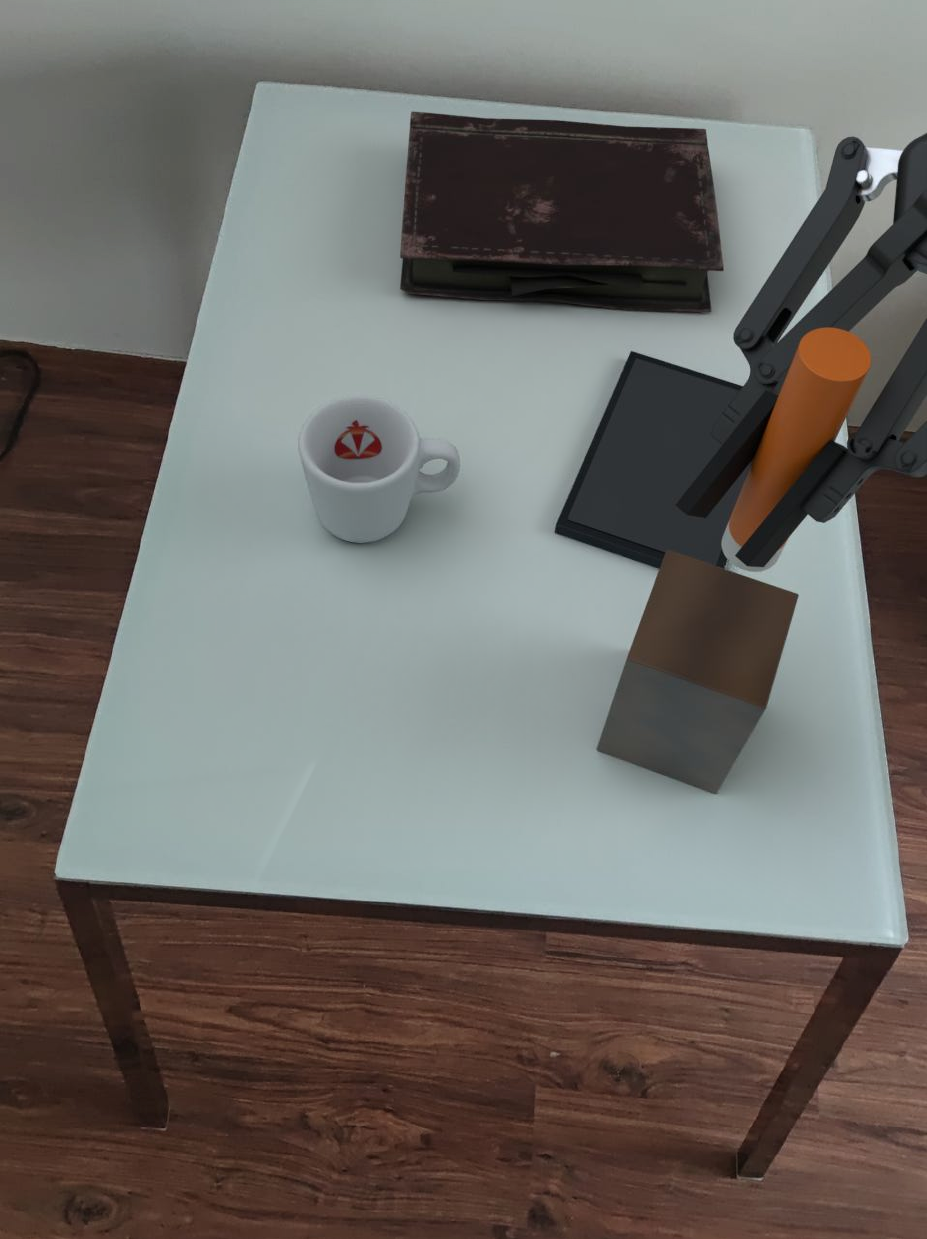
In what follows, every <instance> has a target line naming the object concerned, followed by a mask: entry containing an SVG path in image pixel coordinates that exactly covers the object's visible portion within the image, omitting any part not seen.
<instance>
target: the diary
mask: <svg viewBox="0 0 927 1239" xmlns="http://www.w3.org/2000/svg"><path fill="white" fill-rule="evenodd" d="M408 133H409V134H408V144H407V146H408V147H407V157H406V158H407V159H406V168H405V170H406V171H405V183H404V184H405V185H404V195H403V196H404V197H403V209H402V211H403V212H402V221H401V222H402V225H401V237H400V238H401V239H400V251H399V252H400V254H399V258H400V259H402V262H401V273H400V274H401V275H400V276H401V277H400V286H399V289H400V290H401V291H403V292H406V293H409V294H412V295H422V296H431V297H432V296H433V297H444V298H445V297H446V298H454V299H455V298H458V299H465V300H466V299H468V300H479V301H480V300H481V301H522V302H523V301H525V302H526V301H529V302H556V303H557V302H558V303H563V304H570V305H572V304H573V305H581V306H587V307H588V306H589V307H596V308H605V309H613V310H621V311H638V312H639V311H642V312H643V311H644V312H645V311H646V312H697V313H698V312H699V313H700V312H701V313H711V312H712V306H711V304H712V303H711V297H710V296H711V294H710V284H709V276H708V271H710V272H724V271H725V270H724V260H723V252H722V244H721V243H722V242H721V234H720V225H719V216H718V208H717V199H716V191H715V185H714V178H713V170H712V165H711V158H710V150H709V145H708V144H709V143H708V133H707V129H706V128H695V127H664V126H662V127H659V126H631V125H630V126H629V125H628V126H627V125H616V124H605V123H603V124H602V123H593V122H582V121H569V120H559V119H533V118H530V119H529V118H495V117H493V118H491V117H489V118H488V117H478V116H477V117H476V116H466V115H457V114H448V113H447V114H446V113H435V112H425V111H411V112H410V121H409V132H408Z"/></svg>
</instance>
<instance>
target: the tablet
mask: <svg viewBox="0 0 927 1239" xmlns="http://www.w3.org/2000/svg"><path fill="white" fill-rule="evenodd" d="M743 386H744V385H741V384H737V383H734V382H731V381H728V380H725V379H721V378H718V377H716V376H712V375H709V374H706V373H703V372H700V371H696V370H694V369H690V368H687V367H684V366H680V365H678V364H675V363H671V362H668V361H665V360H661V359H659V358H655V357H653V356H649V355H646V354H643V353H640V352H637V351H633V350H630V351H629V354H628V356H627V359H626V361H625V364H624V366H623V368H622V371H621V373H620V375H619V377H618V380H617V382H616V385H615V387H614V389H613V392H612V393H611V396H610V398H609V401H608V403H607V405H606V408H605V410H604V412H603V415H602V416H601V419H600V422H599V424H598V426H597V429H596V431H595V433H594V435H593V438H592V440H591V442H590V444H589V447H588V449H587V451H586V454H585V456H584V459H583V461H582V463H581V465H580V467H579V470H578V472H577V475H576V476H575V479H574V482H573V484H572V485H571V489H570V491H569V493H568V495H567V498H566V500H565V503H564V504H563V507H562V509H561V511H560V514H559V517H558V519H557V520H556V523H555V527H554V533H555V534H557V535H561V536H563V537H566V538H569V539H572V540H575V541H577V542H581V543H583V544H585V545H586V544H587V545H590V546H592V547H596V548H598V549H601V550H604V551H606V552H610V553H613V554H616V555H619V556H622V557H624V558H628V559H630V560H633V561H635V562H639V563H641V564H645V565H648V566H651V567H654V568H656V569H658V570H659V569H660V566H661V563H662V561H663V558H664V555H665V553H666V550H670V551H673V552H676V553H679V554H682V555H685V556H688V557H691V558H694V559H697V560H700V561H703V562H705V563H708V564H711V565H714V566H717V567H720V568H723V569H726V564H727V561H728V559H727V558H726V556H725V555H724V553H723V550H722V544H721V543H722V537H723V535H724V532H725V530H726V527H727V525H728V522H729V520H730V517H731V515H732V512H733V510H734V507H735V505H736V502H737V500H738V497H739V494H740V492H741V489H742V487H743V484H744V482H745V479H746V477H747V474H748V472H749V469H750V467H751V464H752V462H753V460H752V461H751V462H750V464H749V465H748V466H747V467H746V469H745V470H744V471H743V472H742V474H741V475H740V476H739V477H738V479H737V480H736V481H735V482H734V484H733V485H732V486H731V487H730V489H729V490H728V491H727V492H726V494H725V495H724V496H723V497H722V499H721V500H720V501H719V502H718V504H717V505H716V506H715V507H714V509H713V510H712V511H711V512H710V514H709V515H708V516H707V517H706V518H701V517H695V516H689V515H686V514H685V513H684V512H683V511H681V510H680V509H679V508H678V507H677V506H676V503H677V502H678V501H679V500H680V498H681V497H682V496H683V495H684V493H685V492H686V491H687V489H688V488H689V487H690V486H691V484H692V483H693V482H694V481H695V479H696V478H697V477H698V475H699V474H700V473H701V472H702V470H703V469H704V468H705V467H706V465H707V464H708V463H709V462H710V460H711V459H712V458H713V456H714V455H715V454H716V453H717V451H718V450H719V449H720V448H721V446H722V445H721V444H720V443H719V442H718V441H717V440H715V439H714V438H713V437H712V436H710V434H711V431H712V428H713V425H714V423H715V422H716V420H717V419H718V418H719V417H720V415H721V414H722V413H723V411H724V410H725V409H726V408H727V407H728V405H729V404H730V402H731V401H732V400H733V399H734V397H735V396H736V395H737V393H738V392H739V391H740V390H741V388H742V387H743Z"/></svg>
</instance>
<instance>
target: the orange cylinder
mask: <svg viewBox="0 0 927 1239" xmlns="http://www.w3.org/2000/svg"><path fill="white" fill-rule="evenodd" d="M871 367H872V355H871V351H870V349H869V347H868V346H867V345H866V343H865V342H864V341H863V340H862V339H861V338H859V337H858V336H857V335H856V334H853V333H852V332H850V331H849V332H848V331H845V330H842V329H838V328H829V327H828V328H819V329H815V330H812V331H811V332H809V333H807V334H806V335H805V336H804V337H803V338H802V339H801V341H800V343H799V346H798V348H797V351H796V353H795V356H794V359H793V361H792V364H791V366H790V369H789V371H788V374H787V376H786V379H785V381H784V384H783V386H782V389H781V391H780V394H779V396H778V399H777V401H776V404H775V406H774V409H773V411H772V414H771V416H770V419H769V421H768V424H767V427H766V429H765V432H764V434H763V437H762V439H761V442H760V444H759V447H758V449H757V452H756V454H755V457H754V459H753V462H752V464H751V467H750V469H749V472H748V474H747V477H746V479H745V482H744V484H743V487H742V489H741V492H740V494H739V497H738V500H737V502H736V505H735V507H734V510H733V512H732V515H731V517H730V520H729V522H728V525H727V527H726V530H725V532H724V535H723V537H722V543H721V544H722V550H723V553H724V555H725V556H726V558H727V561H728V562H729V563H730V564H732V565H733V566H735V567H736V568H738V569H740V570H743V571H747V572H752V573H759V572H764V571H767V570H769V569H771V568H772V567H774V566H775V565H776V564H777V562H778V561H779V559H780V556H781V555H782V553H783V550H784V548H785V546H786V544H787V542H788V540H789V538H788V539H787V540H786V541H785V543H784V544H783V545H782V546H781V547H780V549H779V550H778V551H777V552H776V553H775V555H774V556H773V557H772V558H771V559H770V561H769V562H768V563H767V564H766V565H765V567H750V566H746V565H745V564H744V563H743V562H741V561H740V560H739V559H738V558H737V557H736V556H735V555H736V554H737V552H738V551H739V550H740V549H741V547H742V546H743V545H744V544H745V543H746V541H747V540H748V539H749V538H750V536H751V535H752V534H753V533H754V532H755V530H756V529H757V528H758V527H759V526H760V524H761V523H762V522H763V521H764V519H765V518H766V517H767V516H768V515H769V513H770V512H771V511H772V510H773V508H774V507H775V506H776V505H777V504H778V502H779V501H780V500H781V499H782V497H783V496H784V495H785V494H786V493H787V491H788V490H789V489H790V488H791V487H792V485H793V484H794V483H795V482H796V480H797V479H798V478H799V477H800V476H801V474H802V473H803V472H804V471H805V469H806V468H807V467H808V466H809V465H810V463H811V462H812V461H813V460H814V459H815V457H816V456H817V455H818V454H819V452H820V451H821V450H822V449H823V448H824V446H825V445H826V444H827V443H828V441H830V440H832V441H834V442H836V440H837V438H838V436H839V434H840V431H841V429H842V427H843V425H844V423H845V421H846V419H847V417H848V415H849V412H850V410H851V408H852V406H853V404H854V402H855V400H856V398H857V396H858V394H859V392H860V389H861V387H862V386H863V383H864V381H865V379H866V377H867V375H868V373H869V371H870V368H871Z"/></svg>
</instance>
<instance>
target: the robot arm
mask: <svg viewBox="0 0 927 1239" xmlns="http://www.w3.org/2000/svg"><path fill="white" fill-rule="evenodd" d="M893 181H896V182H895V183H896V185H895V197H894V208H893V220H892V225H890V226H889V227H888V228H887V229H886V231H885V232H883V233H882V234H881V235H880V236H879V237H878V239H876V240H875V241H874V242H873V243H872V244H871V246H870V247H869V248H868V251H867V253H866V255H865V256H864V257H863V258H862V259H861V260H860V261H859V262H858V263H857V264H856V265H855V266H854V267H853V268H852V269H851V270H850V271H849V272H848V273H847V274H846V275H845V276H844V277H842V278H841V280H839V282H838V283H837V284H836V285H835V286H833V288H831V289H830V291H828V292H827V293H826V295H824V296H823V297H822V299H820V300H819V301H818V302H817V303H816V304H815V305H814V306H813V307H812V308H811V309H810V310H809V311H808V312H807V313H806V314H805V315H804V316H803V317H801V319H800V320H799V321H798V322H796V324H795V325H794V326H793V327H792V328H791V329H790V330H789V331H788V332H786V330H787V329H788V327H789V326H790V324H791V322H792V321H793V319H794V318H795V316H796V315H797V313H798V312H799V310H800V308H801V307H802V306H803V304H804V303H805V301H806V300H807V298H808V297H809V295H810V294H811V292H812V290H813V289H814V287H815V286H816V284H817V283H818V281H819V280H820V278H821V277H822V275H824V272H825V271H826V269H827V267H828V266H829V264H830V263H831V262H832V260H833V258H834V257H835V255H836V254H837V252H838V251H839V250H840V248H841V247H842V244H843V243H844V242H845V240H846V239H847V237H848V235H849V234H850V232H851V231H852V230H853V228H854V226H855V224H856V223H857V221H858V219H859V218H860V216H861V214H862V211H863V209H864V207H865V204H866V202H873V201H874V200H876V199H878V198H879V197H880V196H881V194H882V193H883V191H884V189H885V187H886V186H887V185H888V184H890V183H891V182H893ZM917 272H920V273H923V274H926V275H927V132H925V133H924V134H922V135H920V136H918V137H916V138H914V139H913V140H911V141H910V142H909V143H908V144H907V145H906V146H905V147H904V149H897V148H886V147H875V146H866V145H865V143H864V142H863V140H861V139H860V138H859V137H856V136H847V137H845V138H843V139H842V140H841V141H840V142H838V144H837V145H836V148H835V150H834V155H833V159H832V162H831V166H830V170H829V172H828V177H827V181H826V184H825V189H824V190H823V191H822V193H821V195H820V196H819V198H818V199H817V201H816V202H815V204H814V206H812V209H811V210H810V212H809V213H808V215H807V216H806V218H805V220H804V221H803V223H802V224H801V226H800V227H799V229H798V231H797V232H796V234H795V235H794V236H793V238H792V240H791V241H790V243H789V244H788V246H787V248H786V249H785V251H784V253H783V254H782V256H780V258H779V260H778V262H777V263H776V264H775V266H774V268H773V269H772V271H771V273H770V274H769V276H768V277H767V279H766V280H765V282H764V283H763V285H762V287H761V288H760V290H759V292H758V293H757V295H756V296H755V297H754V300H753V301H751V304H750V305H749V307H748V308H747V310H746V312H745V313H744V315H743V316H742V318H741V319H740V321H739V323H738V324H737V326H736V327H735V329H734V332H733V336H732V337H733V338H732V339H733V342H734V344H735V345H736V346H737V347H738V348H739V349H740V351H741V353H742V354H743V356H744V358H745V359H746V361H747V363H748V365H749V366H748V367H749V375H748V379H747V380H746V381H745V383H744V384H743V385H742V386H743V387H742V388H741V390H740V391H739V392H738V393H737V395H736V396H735V397H734V399H733V400H732V401H731V402H730V404H729V405H728V407H727V408H726V409H725V410H724V411H723V413H722V414H721V415H720V417H719V418H718V419H717V420H716V422H715V423H714V425H713V428H712V431H711V434H710V436H712V437H713V438H714V439H715V440H717V441H718V442H719V443H720V444H721V445H722V446H721V448H720V449H719V450H718V451H717V453H716V454H715V455H714V456H713V458H712V459H711V460H710V462H709V463H708V464H707V465H706V467H705V468H704V469H703V470H702V472H701V473H700V474H699V475H698V477H697V478H696V479H695V481H694V482H693V483H692V484H691V486H690V487H689V488H688V489H687V491H686V492H685V493H684V495H683V496H682V497H681V498H680V500H679V501H678V502H677V503H676V506H677V507H678V508H679V509H680V510H681V511H683V512H684V513H685V514H686V515H689V516H695V517H701V518H706V517H707V516H708V515H709V514H710V512H711V511H712V510H713V509H714V507H715V506H716V505H717V504H718V502H719V501H720V500H721V499H722V497H723V496H724V495H725V494H726V492H727V491H728V490H729V489H730V487H731V486H732V485H733V484H734V482H735V481H736V480H737V479H738V477H739V476H740V475H741V474H742V472H743V471H744V470H745V469H746V467H747V466H748V465H749V464H750V462H751V461H752V460H753V459H754V457H755V454H756V452H757V449H758V447H759V444H760V442H761V439H762V437H763V434H764V432H765V429H766V427H767V424H768V421H769V419H770V416H771V414H772V411H773V409H774V406H775V404H776V401H777V399H778V396H779V394H780V391H781V389H782V386H783V384H784V381H785V379H786V376H787V374H788V371H789V369H790V366H791V364H792V361H793V359H794V356H795V353H796V351H797V348H798V346H799V343H800V341H801V339H802V338H803V337H804V336H805V335H806V334H807V333H809V332H811V331H812V330H815V329H819V328H828V327H829V328H838V329H842V330H845V331H848V332H850V331H851V330H853V329H854V328H855V327H856V326H857V325H858V324H859V323H860V322H861V321H862V320H863V319H864V318H865V317H866V316H867V315H868V314H869V313H870V312H871V311H872V310H873V309H875V307H877V306H878V305H879V304H880V303H881V302H882V301H883V300H884V299H885V298H886V297H887V296H888V295H889V294H891V292H892V291H893V290H894V289H896V288H897V287H899V286H901V285H903V284H905V283H906V282H907V281H909V279H910V278H912V276H913V275H915V273H917ZM785 332H786V333H785ZM784 333H785V335H784V336H783V334H784ZM926 398H927V317H926V319H925V320H924V321H923V323H922V325H921V326H920V329H919V330H918V331H917V333H916V334H915V336H914V338H913V340H912V341H911V343H910V344H909V346H908V348H907V349H906V351H905V353H904V354H903V356H902V358H901V359H900V361H899V362H898V364H897V366H896V367H895V369H894V371H893V372H892V374H891V376H890V377H889V379H888V381H887V382H886V384H885V385H884V387H883V389H882V390H881V392H880V394H879V395H878V397H877V399H876V401H874V403H873V405H872V407H871V408H870V410H869V412H868V413H867V414H866V416H865V418H864V420H863V421H862V423H861V425H860V426H859V428H857V429H858V430H857V431H856V433H855V434H854V436H853V437H848V439H847V440H846V446H844V445H843V444H841V443H838V442H837V441H835V442H834V441H832V440H830V441H828V443H827V444H826V445H825V446H824V448H823V449H822V450H821V451H820V452H819V454H818V455H817V456H816V457H815V459H814V460H813V461H812V462H811V463H810V465H809V466H808V467H807V468H806V469H805V471H804V472H803V473H802V474H801V476H800V477H799V478H798V479H797V480H796V482H795V483H794V484H793V485H792V487H791V488H790V489H789V490H788V491H787V493H786V494H785V495H784V496H783V497H782V499H781V500H780V501H779V502H778V504H777V505H776V506H775V507H774V508H773V510H772V511H771V512H770V513H769V515H768V516H767V517H766V518H765V519H764V521H763V522H762V523H761V524H760V526H759V527H758V528H757V529H756V530H755V532H754V533H753V534H752V535H751V536H750V538H749V539H748V540H747V541H746V543H745V544H744V545H743V546H742V547H741V549H740V550H739V551H738V552H737V554H736V555H735V556H736V557H737V558H738V559H739V560H740V561H741V562H743V563H744V564H745V565H746V566H750V567H765V565H766V564H767V563H768V562H769V561H770V559H771V558H772V557H773V556H774V555H775V553H776V552H777V551H778V550H779V549H780V547H781V546H782V545H783V544H784V543H785V541H786V540H787V539H788V540H789V538H790V537H791V536H792V535H793V533H794V532H795V531H796V530H797V528H798V527H799V526H800V524H802V522H804V520H805V519H806V517H807V516H809V517H810V518H811V519H813V520H814V521H815V522H817V523H822V524H825V523H827V522H829V521H831V520H832V519H834V518H836V516H837V515H838V514H839V513H840V512H841V510H842V509H843V508H844V507H845V506H846V505H847V503H848V502H849V501H850V500H851V499H852V498H853V496H855V494H856V493H857V492H858V490H859V489H861V487H862V486H863V485H864V484H865V482H866V481H867V480H868V479H869V477H871V475H872V474H874V473H875V472H877V471H880V470H889V471H890V470H891V471H893V472H897V473H900V474H904V475H907V476H909V477H912V478H922V477H925V476H926V475H927V420H926V421H925V422H924V423H923V424H922V425H921V426H920V427H919V428H918V429H917V430H916V431H915V432H914V433H913V434H912V435H911V436H910V437H908V439H907V440H905V441H904V442H903V441H900V439H901V438H902V436H903V434H904V432H905V431H906V430H907V428H908V426H909V425H910V423H911V422H912V420H913V418H914V416H915V415H916V413H917V412H918V410H920V407H921V405H922V404H923V402H924V400H925V399H926ZM788 540H787V541H788Z"/></svg>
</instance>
